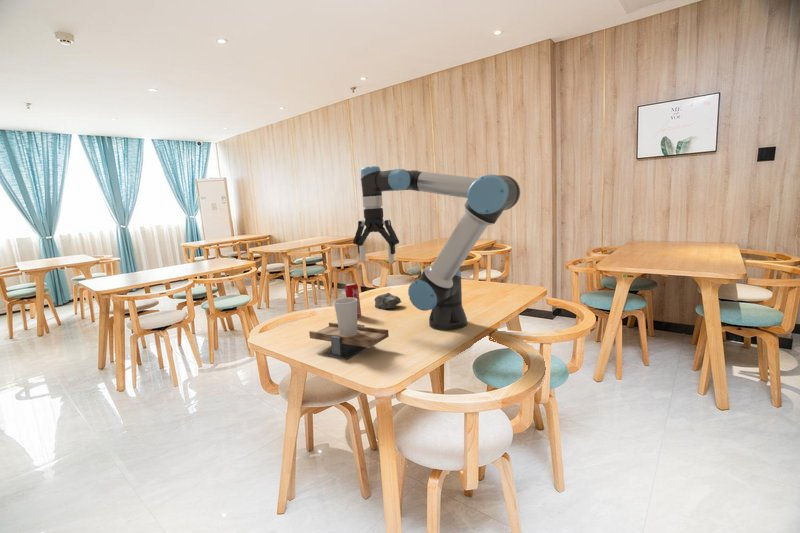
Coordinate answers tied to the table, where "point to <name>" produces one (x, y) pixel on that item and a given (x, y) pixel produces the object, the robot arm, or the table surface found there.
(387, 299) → the rock
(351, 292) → the beverage can
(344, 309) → the cup
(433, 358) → the table surface
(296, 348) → the table surface
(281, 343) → the table surface
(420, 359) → the table surface
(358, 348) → the pivot stand
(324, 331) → the beam
